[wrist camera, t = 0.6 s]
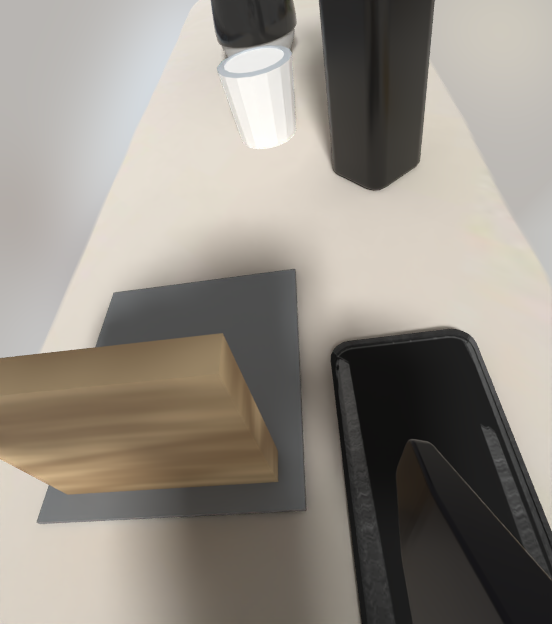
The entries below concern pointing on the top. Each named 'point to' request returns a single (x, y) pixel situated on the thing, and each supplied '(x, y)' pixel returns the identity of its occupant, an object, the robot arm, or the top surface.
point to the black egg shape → (253, 23)
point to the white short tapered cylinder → (261, 94)
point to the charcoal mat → (257, 374)
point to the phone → (427, 427)
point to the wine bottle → (376, 85)
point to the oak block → (134, 418)
